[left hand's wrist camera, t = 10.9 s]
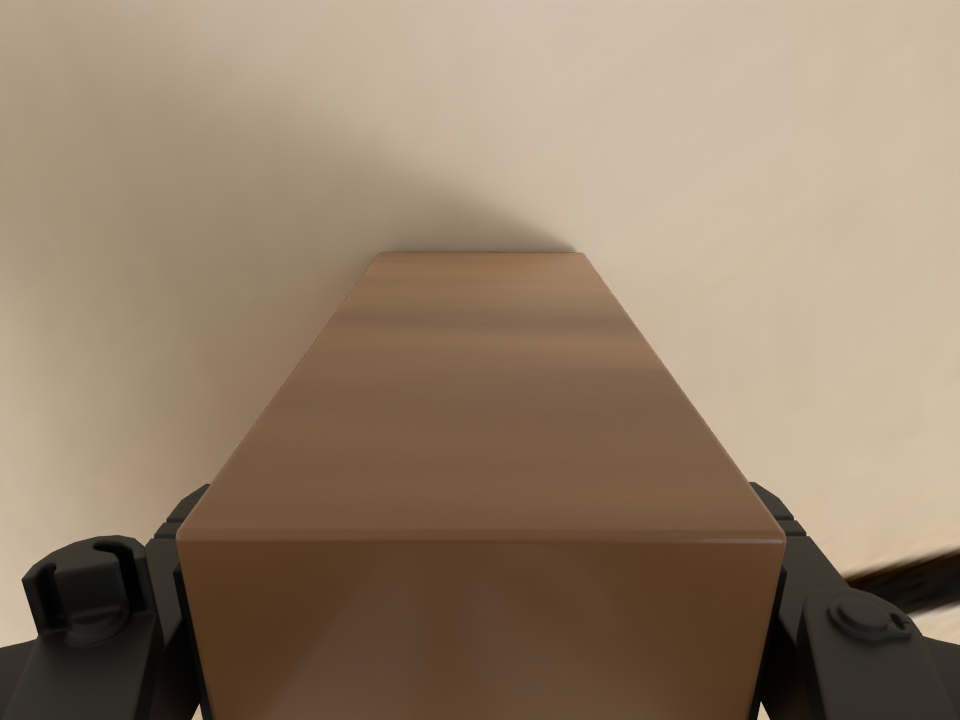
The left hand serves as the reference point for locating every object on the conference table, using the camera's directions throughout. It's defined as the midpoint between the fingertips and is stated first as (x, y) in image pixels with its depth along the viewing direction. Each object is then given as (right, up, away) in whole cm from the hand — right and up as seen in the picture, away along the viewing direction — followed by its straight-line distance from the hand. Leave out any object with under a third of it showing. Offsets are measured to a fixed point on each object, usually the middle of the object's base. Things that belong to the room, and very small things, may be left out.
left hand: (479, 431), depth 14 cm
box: (0, -5, +7) cm, 8 cm away
